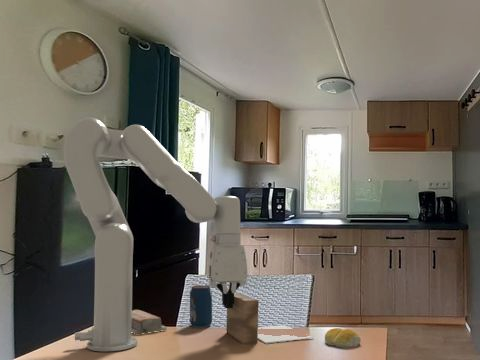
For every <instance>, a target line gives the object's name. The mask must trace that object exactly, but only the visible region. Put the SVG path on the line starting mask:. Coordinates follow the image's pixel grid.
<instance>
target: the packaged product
mask: <svg viewBox="0 0 480 360" xmlns="http://www.w3.org/2000/svg"><path fill="white" fill-rule="evenodd" d="M167 329H168V327H167V326H165V325H163V324H162V319H161V317H160V316H157V315H154V314H151V313H149V312H146V311H144V310H140V309H132V331H131V332H133V333H135V334H142V333H148V332H154V331H161V330H167ZM133 333H132V334H133ZM135 334H134V335H135ZM142 335H143V334H142Z"/></svg>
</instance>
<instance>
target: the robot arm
mask: <svg viewBox="0 0 480 360" xmlns="http://www.w3.org/2000/svg"><path fill="white" fill-rule="evenodd" d="M62 152H63V153H62V154H63V160H64V164H65V168H66V171H67V173H68V176H69V178H70V181H71V183H72V187H73V189H74V191H75V194H76V197H77V200H78V201H79V204H80V208H81V211H82V213H83V215H84V216H85V217H86V218H87V220H88V222H89V224H90V227H91V229H92V231H93V234H94V237H95V240H94V298H93V299H94V302H93V303H94V305H93V326H92V327H91V330H87V331H86V332H85V331H84V332H83V331H80V332H79V331H77V332H74V341H79V342H84V341H88V342H86V347H87V349H88V350H90V351H92V352H93V351H94V352H104V353H105V352H119V351H125V350H128V349H131V348H135V347H136V346H137V345H138V339H137V338H136V337H134V336H132V333H131V331H132V311H133V261H134V260H133V259H134V257H133V255H134V235H133V232H132V230H131V228H130V225H129V223H128V221H127V219H126V216H125V214H124V212H123V209H122V207H121V205H120V201H119V200H118V197H117V196H116V194H115V193H114V192H113V191H112V188H111V186H110V184H109V183H108V180H107V177H106V176H105V173H104V170H103V167H102V165H101V161H100V159H99V158H108V159H119V160H133V161H134V163H135V164H136V165H137V166H138V167H139V168H140V169H141V170H142V171H143V172H144V173H145V174H146V176H148V178H149V179H150V180H151V181H152V182H153V183H154V184H156V186H158V187H160V188H161V189H164V190H165V191H166V192H168V193H169V194H170V195H171V196H172V197H173V198H174V199H175V200H176V201H177V202H178V203H179V204H180V205H181V206H182V207H183V208H184V209H185V210H184V213H185V215H186V217H187V219H189V221H191V222H192V223H197V224H202V223H207V222H213V234H212V235H211V236H209V237H208V242H211V243H212V244H213V245H211V247H210V248H211V249H210V254H209V262H208V264H209V265H208V279H209V281H208V286H210V288H217V290H219V292H220V293H221V300H222V301H221V304H222V306H223V307H224V308H225V309H226V310H227V309H229V308H233V304H234V294H236V291H237V290H238V289H239V288H240V287H242V286H245V285H247V283H248V282H247V279H248V276H249V275H248V272H249V271H248V263H247V261H248V260H247V255H246V249H245V245H243V244H241V239H242V238H241V237H242V235H241V201H240V198H239V197H237V196H234V195H226V196H225V195H224V196H223V195H221V196H217V197H213V196H212V195H211V194H210V193H209V192H208V191H207V190H206V188H205V187H204V186H203V185H202V184H201V183H200V182H199V181H198V180H197V179H196V178H195V177H194V176H193V175H192V174H191V173H190V172H189V171H187V170H186V168H184V166H183V165H182V164H181V163H179V162H178V161H177V160H176V159H175V158H174V157H173V156H172V155H171V153H170V152H169V151H168V150H167V149H166V148H165V147H164V146H163V145H162V144H161V142H159V140H158V139H156V137H155V136H154V135H153V134H152V132H150V131H149V130H148V129H147V128H145V126H143V125H141V124H130V125H129V126H127V127H126V128H124V129H123V130H120V129H112V128H108V127H107V126H106V125H105V124H104V123H103V122H102V121H101V120H100V119H98V118H95V117H84V118H82V119H80V120H78V121H77V122H76V123H74V124H73V125H72V127H70V129H69V131H68V133H67V134H66V136H65V140H64V144H63V151H62ZM227 283H229V284H228V286H227Z"/></svg>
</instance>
